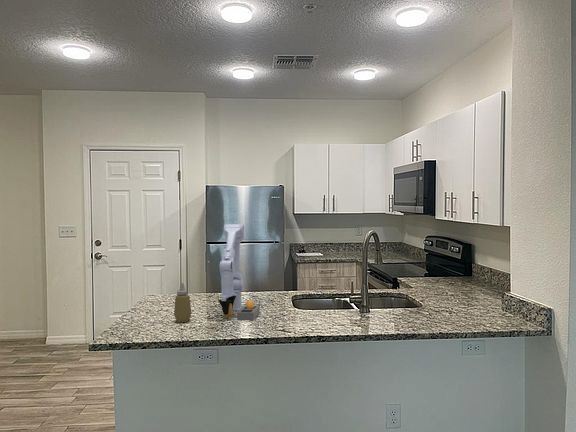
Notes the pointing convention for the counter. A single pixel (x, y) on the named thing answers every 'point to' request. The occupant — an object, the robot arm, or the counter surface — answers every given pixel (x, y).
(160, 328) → the counter surface
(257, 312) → the housing
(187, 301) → the squeeze bottle
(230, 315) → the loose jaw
